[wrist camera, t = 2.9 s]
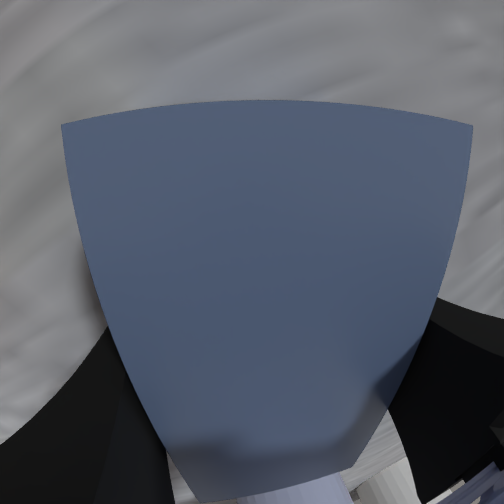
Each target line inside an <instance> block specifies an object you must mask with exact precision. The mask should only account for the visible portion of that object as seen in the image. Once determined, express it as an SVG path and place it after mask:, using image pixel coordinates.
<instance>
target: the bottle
mask: <svg viewBox="0 0 504 504" xmlns="http://www.w3.org/2000/svg"><path fill="white" fill-rule="evenodd" d="M356 491H357V493H358V496H359V498H360V500H361V502H362V504H421V502H420V500H419V498H418V497H417V493H416V488H415V484H414V480H413V476H412V472H411V469H410V465H409V462H408V459H407V457H405V458H403V459H401V460H400V461H398V462H396V463H394V464H392V465H391V466H389V467H387V468H385V469H384V470H382V471H380V472H379V473H377V474H375V475H374V476H372V477H371V478H369V479H368V480H366V481H365V482H364V483H362V484H361V485H360V486H359V487H358V488H357V489H356ZM451 493H452V491H451V490H450V489H448V490H447V491H445V492H444V493H442V494H441V495H439V496H438V497H436V498H435V499H433V500H431V501H430V502H428V503H426V504H436V503H438V502H440V501H441V500H443V499H444V498H446V497H447V496H449V495H450V494H451Z"/></svg>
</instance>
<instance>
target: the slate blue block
mask: <svg viewBox="0 0 504 504" xmlns="http://www.w3.org/2000/svg"><path fill="white" fill-rule="evenodd" d="M61 129H62V137H63V146H64V153H65V160H66V166H67V173H68V179H69V184H70V190H71V195H72V200H73V205H74V210H75V214H76V219H77V223H78V227H79V231H80V235H81V239H82V243H83V247H84V251H85V255H86V258H87V262H88V265H89V269H90V272H91V276H92V279H93V282H94V285H95V289H96V292H97V295H98V298H99V301H100V304H101V307H102V310H103V312H104V315H105V318H106V321H107V324H108V326H109V329H110V332H111V334H112V337H113V339H114V342H115V345H116V347H117V350H118V352H119V354H120V357H121V359H122V362H123V364H124V366H125V369H126V371H127V373H128V375H129V378H130V380H131V382H132V384H133V387H134V389H135V391H136V393H137V395H138V397H139V399H140V401H141V403H142V405H143V407H144V409H145V411H146V413H147V415H148V417H149V419H150V421H151V423H152V425H153V427H154V429H155V431H156V432H157V434H158V436H159V438H160V440H161V442H162V443H163V445H164V447H165V449H166V450H167V452H168V454H169V455H170V457H171V459H172V461H173V462H174V464H175V466H176V467H177V469H178V470H179V472H180V474H181V475H182V477H183V478H184V480H185V481H186V483H187V485H188V486H189V488H190V489H191V491H192V492H193V494H194V495H195V497H196V498H197V499H198V501H199V502H200V503H207V502H215V501H222V500H229V499H235V498H241V497H247V496H252V495H257V494H262V493H266V492H271V491H275V490H279V489H283V488H287V487H291V486H295V485H299V484H302V483H306V482H309V481H312V480H316V479H319V478H322V477H325V476H328V475H331V474H334V473H337V472H340V471H343V470H345V469H348V468H351V467H352V466H353V465H354V464H355V462H356V461H357V459H358V457H359V456H360V454H361V453H362V451H363V450H364V448H365V447H366V445H367V443H368V442H369V440H370V439H371V437H372V435H373V434H374V432H375V430H376V429H377V427H378V425H379V423H380V422H381V420H382V418H383V416H384V415H385V413H386V411H387V409H388V407H389V405H390V404H391V402H392V400H393V398H394V396H395V394H396V392H397V390H398V388H399V386H400V384H401V382H402V380H403V378H404V376H405V374H406V372H407V370H408V368H409V365H410V363H411V361H412V359H413V357H414V354H415V352H416V350H417V347H418V345H419V343H420V340H421V338H422V335H423V333H424V331H425V328H426V325H427V323H428V320H429V318H430V315H431V312H432V310H433V307H434V304H435V301H436V298H437V295H438V293H439V290H440V286H441V283H442V280H443V277H444V274H445V271H446V267H447V264H448V260H449V257H450V253H451V250H452V246H453V242H454V238H455V234H456V230H457V226H458V221H459V217H460V212H461V208H462V203H463V197H464V192H465V186H466V181H467V174H468V168H469V160H470V153H471V144H472V134H473V125H469V124H465V123H461V122H457V121H452V120H448V119H443V118H439V117H434V116H429V115H423V114H418V113H412V112H406V111H400V110H394V109H387V108H379V107H371V106H363V105H353V104H342V103H330V102H313V101H287V100H247V101H220V102H204V103H191V104H180V105H170V106H161V107H153V108H146V109H139V110H132V111H126V112H120V113H114V114H108V115H103V116H98V117H93V118H88V119H84V120H79V121H75V122H70V123H66V124H62V125H61Z"/></svg>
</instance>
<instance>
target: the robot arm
mask: <svg viewBox="0 0 504 504" xmlns="http://www.w3.org/2000/svg"><path fill="white" fill-rule="evenodd" d="M388 411H389V413H390V415H391V417H392V419H393V422H394V424H395V426H396V429H397V431H398V434H399V436H400V439H401V441H402V444H403V447H404V450H405V453H406V456H407V459H408V462H409V465H410V469H411V472H412V476H413V480H414V484H415V488H416V493H417V497H418V498H419V500H420V502H421V504H426V503H428V502H430V501H431V500H433V499H435V498H436V497H438V496H439V495H441V494H442V493H444V492H445V491H447V490H448V489H450V488H451V487H453V486H454V485H456V484H457V483H458V482H460V481H461V480H464V482H465V484H464V485H463V486H461V487H460V488H459V489H457V490H456V491H454V492H453V493H451V494H450V495H449V496H447V497H446V498H444V499H443V500H441V501H440V502H438V503H436V504H471V503H472V502H473V501H475V500H476V499H477V498H478V497H479V496H481V498H480V502H479V503H478V504H504V319H501V318H497V317H493V316H490V315H486V314H482V313H479V312H475V311H472V310H469V309H466V308H464V307H461V306H458V305H455V304H452V303H450V302H447V301H445V300H442V299H440V298H438V297H437V298H436V301H435V304H434V307H433V310H432V312H431V315H430V318H429V320H428V323H427V325H426V328H425V331H424V333H423V335H422V338H421V340H420V343H419V345H418V347H417V350H416V352H415V354H414V357H413V359H412V361H411V363H410V365H409V368H408V370H407V372H406V374H405V376H404V378H403V380H402V382H401V384H400V386H399V388H398V390H397V392H396V394H395V396H394V398H393V400H392V402H391V404H390V405H389V407H388ZM236 500H237V504H354V503H353V501H352V499H351V497H350V494H349V492H348V490H347V488H346V486H345V484H344V481H343V479H342V477H341V475H340V473H339V472H337V473H334V474H331V475H328V476H325V477H322V478H319V479H316V480H312V481H309V482H306V483H302V484H299V485H295V486H291V487H287V488H283V489H279V490H275V491H271V492H266V493H262V494H257V495H252V496H247V497H241V498H236ZM0 504H175V500H174V495H173V490H172V485H171V479H170V474H169V467H168V461H167V454H166V449H165V447H164V445H163V443H162V442H161V440H160V438H159V436H158V434H157V432H156V431H155V429H154V427H153V425H152V423H151V421H150V419H149V417H148V415H147V413H146V411H145V409H144V407H143V405H142V403H141V401H140V399H139V397H138V395H137V393H136V391H135V389H134V387H133V384H132V382H131V380H130V378H129V375H128V373H127V371H126V369H125V366H124V364H123V362H122V359H121V357H120V354H119V352H118V350H117V347H116V345H115V342H114V339H113V337H112V334H111V332H110V329H109V326H108V327H107V328H106V330H105V331H104V333H103V334H102V336H101V337H100V339H99V340H98V342H97V343H96V345H95V346H94V347H93V349H92V350H91V351H90V353H89V354H88V356H87V357H86V358H85V360H84V361H83V362H82V364H81V365H80V366H79V368H78V369H77V370H76V372H75V373H74V374H73V375H72V376H71V378H70V379H69V380H68V381H67V382H66V383H65V384H64V386H63V387H62V388H61V389H60V390H59V391H58V392H57V394H56V395H55V396H54V397H53V398H52V399H51V400H50V401H49V402H48V403H47V404H46V405H45V406H44V407H43V408H42V409H41V410H40V411H39V412H38V413H37V414H36V415H35V416H34V417H33V418H32V419H31V420H29V421H28V422H27V423H26V424H25V425H24V426H23V427H22V428H20V429H19V430H18V431H17V432H16V433H15V434H13V435H12V436H11V437H10V438H8V439H7V440H6V441H5V442H3V443H2V444H1V445H0Z"/></svg>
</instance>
